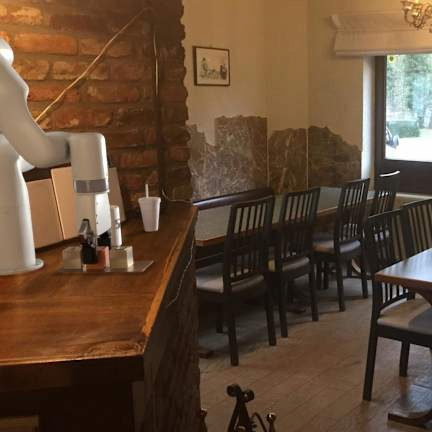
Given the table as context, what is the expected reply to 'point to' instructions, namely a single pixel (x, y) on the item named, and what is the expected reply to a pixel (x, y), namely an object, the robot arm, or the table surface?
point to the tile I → (73, 258)
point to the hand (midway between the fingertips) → (98, 258)
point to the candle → (114, 226)
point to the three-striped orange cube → (100, 258)
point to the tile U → (121, 257)
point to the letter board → (135, 267)
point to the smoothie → (150, 211)
